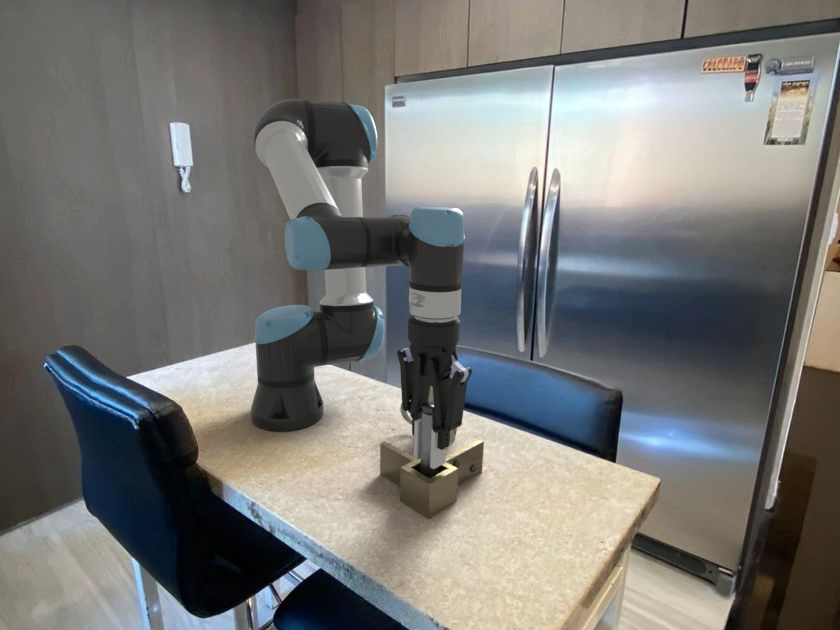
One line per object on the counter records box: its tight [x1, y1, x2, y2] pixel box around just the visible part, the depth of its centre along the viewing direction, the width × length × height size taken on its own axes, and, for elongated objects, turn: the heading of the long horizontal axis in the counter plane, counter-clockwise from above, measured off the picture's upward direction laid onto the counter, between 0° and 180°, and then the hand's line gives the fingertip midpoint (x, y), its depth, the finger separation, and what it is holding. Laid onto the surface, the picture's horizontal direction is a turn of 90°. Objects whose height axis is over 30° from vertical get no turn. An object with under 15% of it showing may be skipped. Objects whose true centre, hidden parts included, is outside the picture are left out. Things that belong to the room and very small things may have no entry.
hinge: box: [379, 439, 485, 520], centre depth 88 cm, size 14×16×6 cm
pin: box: [420, 402, 438, 478], centre depth 81 cm, size 3×3×15 cm
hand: (429, 460), depth 81 cm, fingers open, 3 cm apart
